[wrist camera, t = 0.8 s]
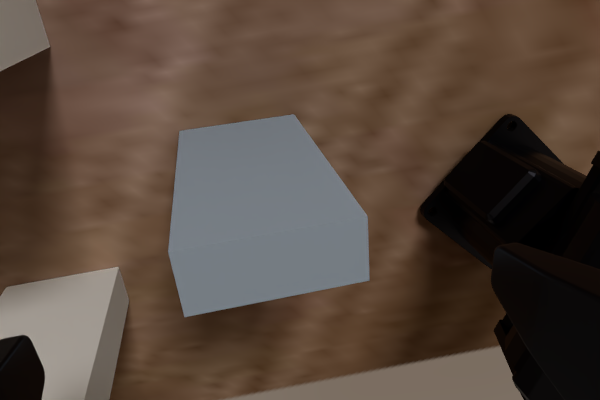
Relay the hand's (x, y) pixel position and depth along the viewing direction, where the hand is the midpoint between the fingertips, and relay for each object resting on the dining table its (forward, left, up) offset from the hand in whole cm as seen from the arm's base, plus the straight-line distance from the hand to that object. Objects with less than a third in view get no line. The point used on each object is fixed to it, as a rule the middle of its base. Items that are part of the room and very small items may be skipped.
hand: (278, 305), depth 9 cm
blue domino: (-1, +1, -13) cm, 13 cm away
